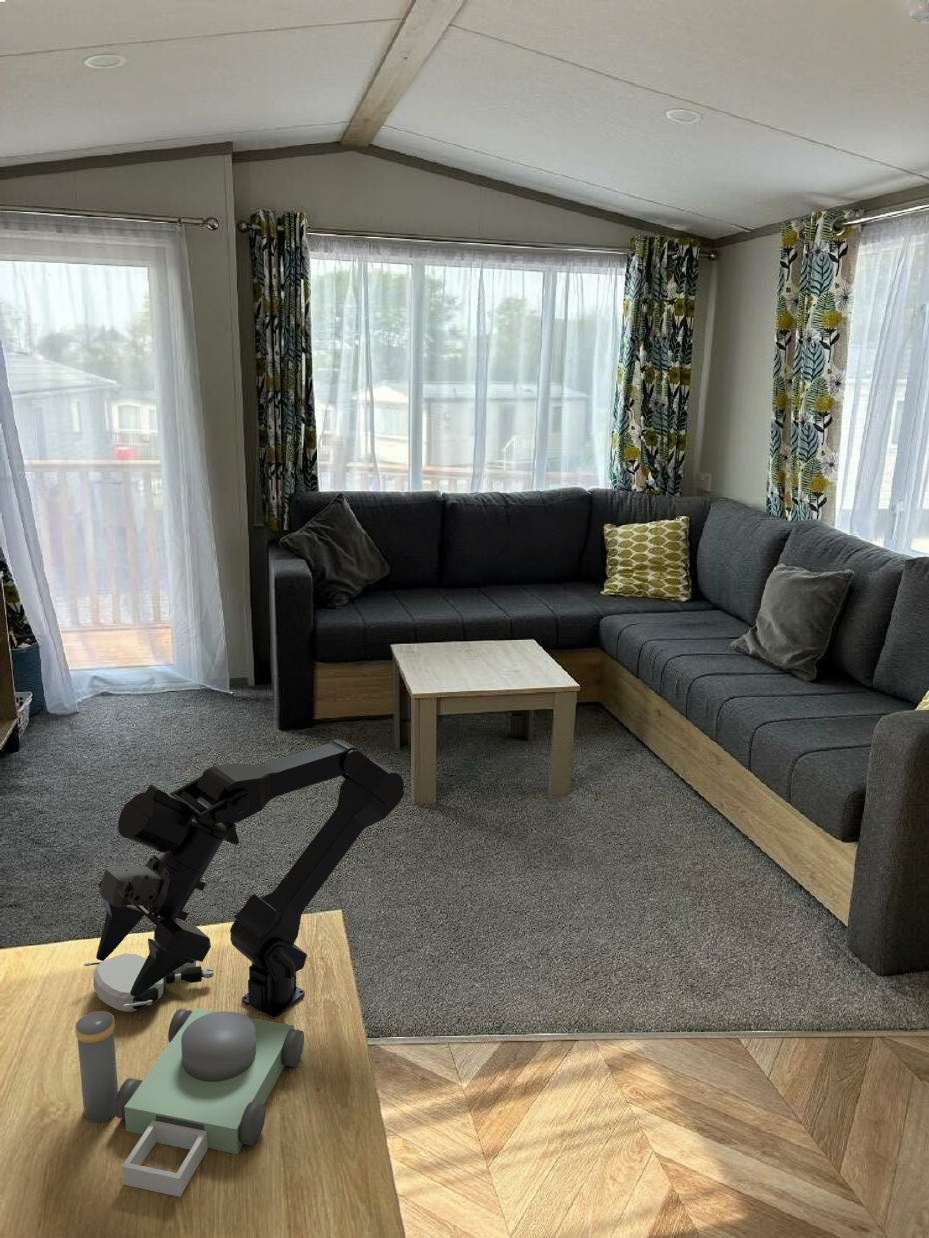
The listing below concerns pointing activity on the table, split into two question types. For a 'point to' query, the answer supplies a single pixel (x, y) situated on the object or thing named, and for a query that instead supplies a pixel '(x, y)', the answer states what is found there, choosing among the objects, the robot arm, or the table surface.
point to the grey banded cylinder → (97, 1065)
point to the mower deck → (204, 1091)
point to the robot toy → (122, 972)
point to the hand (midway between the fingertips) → (115, 977)
